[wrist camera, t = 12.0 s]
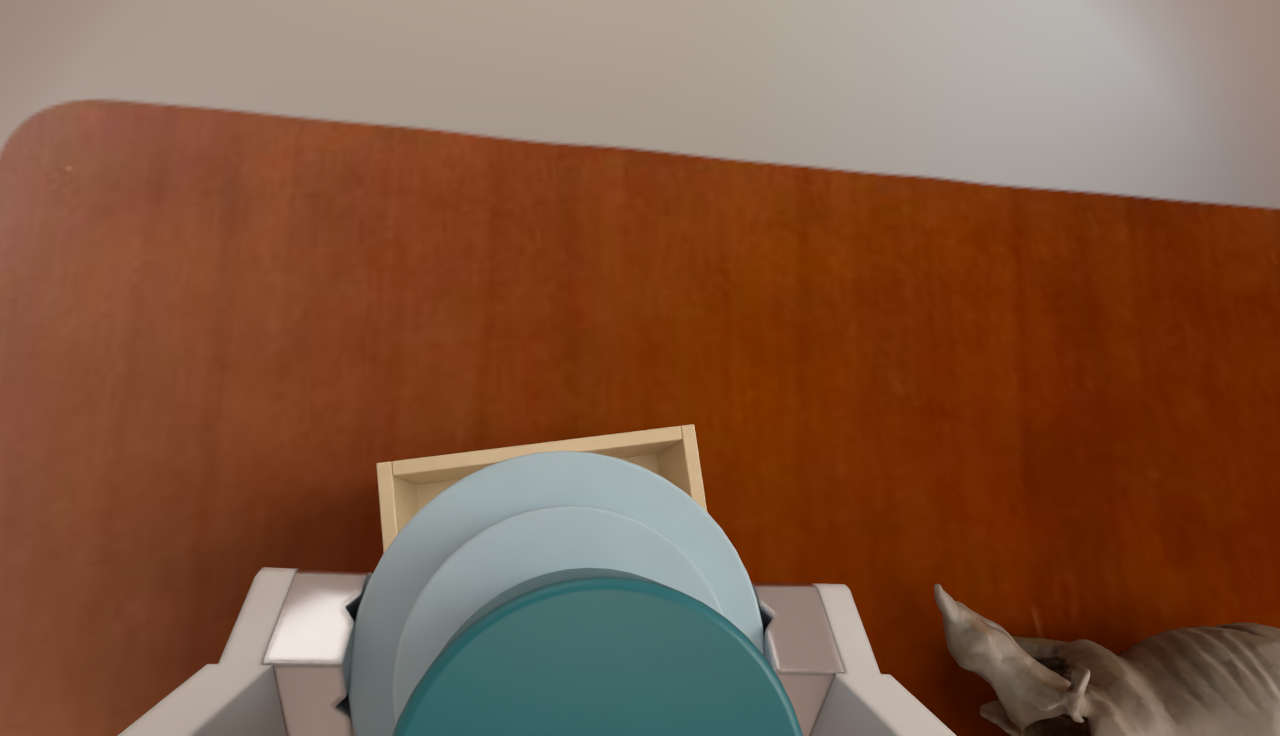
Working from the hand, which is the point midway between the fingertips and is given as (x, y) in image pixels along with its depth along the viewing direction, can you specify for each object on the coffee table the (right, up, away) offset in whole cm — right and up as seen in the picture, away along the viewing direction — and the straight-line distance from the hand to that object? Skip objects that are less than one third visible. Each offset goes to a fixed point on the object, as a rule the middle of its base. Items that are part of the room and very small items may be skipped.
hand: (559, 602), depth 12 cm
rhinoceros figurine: (+19, -10, +24) cm, 32 cm away
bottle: (-1, -2, +7) cm, 8 cm away
